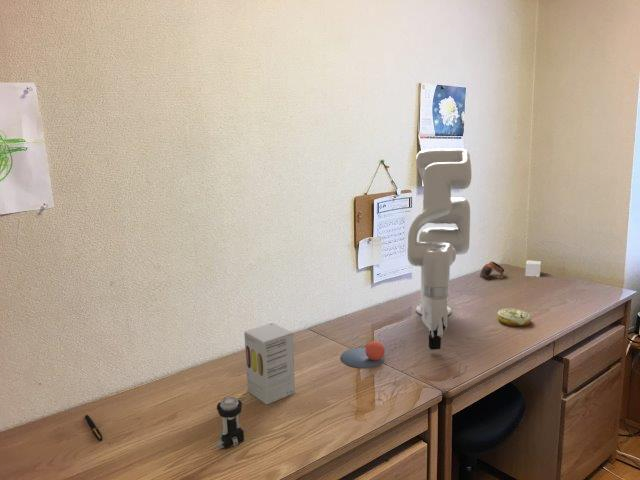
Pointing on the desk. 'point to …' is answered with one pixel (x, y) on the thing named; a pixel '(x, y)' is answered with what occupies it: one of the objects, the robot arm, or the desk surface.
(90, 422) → the fountain pen
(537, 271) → the white cube
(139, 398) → the desk surface
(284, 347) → the supplement box
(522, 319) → the decorated donut
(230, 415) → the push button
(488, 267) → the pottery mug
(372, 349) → the ball
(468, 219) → the robot arm
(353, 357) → the disc
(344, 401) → the desk surface
